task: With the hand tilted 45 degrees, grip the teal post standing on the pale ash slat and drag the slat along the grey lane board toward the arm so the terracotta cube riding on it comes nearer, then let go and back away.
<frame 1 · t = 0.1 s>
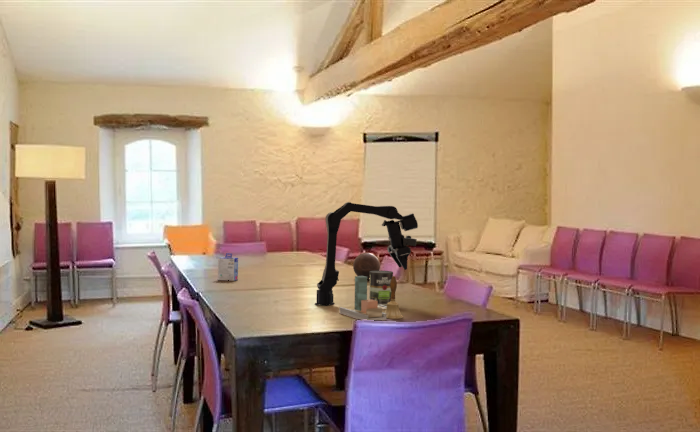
hand: (403, 268, 297), 15 cm above the table, tool pointing down, fingers open, 9 cm apart
lane board: (360, 316, 266), on the table
ink cartridge box: (228, 280, 368), on the table
cube: (369, 312, 260), point 2 cm above the table, touching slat
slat: (366, 296, 262), point 8 cm above the table, slide at 0.0 cm, touching cube
coffee can: (380, 304, 296), on the table
wooden handled brush: (392, 317, 265), on the table
broken slat: (376, 312, 273), resting on lane board
wooden sphere: (366, 279, 379), on the table
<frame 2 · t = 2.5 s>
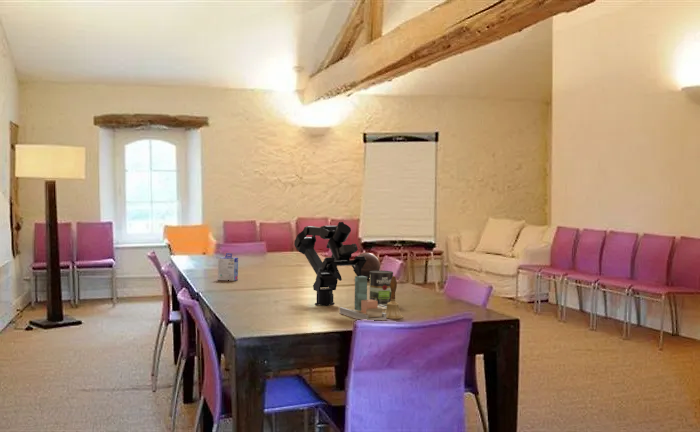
hand: (350, 279, 272), 13 cm above the table, tool tilted 45°, fingers open, 9 cm apart
nothing on the table moved.
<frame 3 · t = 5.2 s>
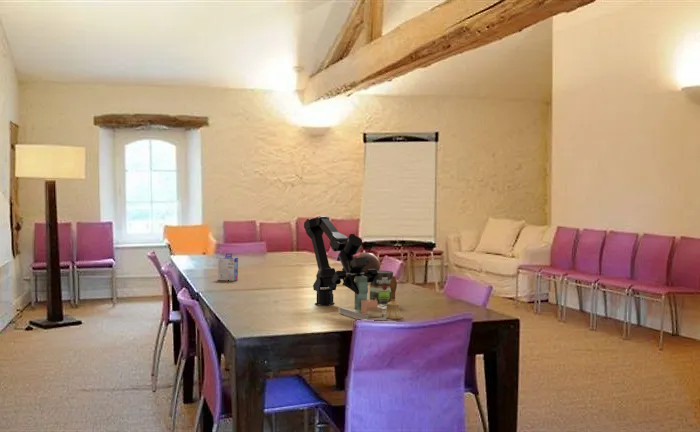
hand: (362, 293, 264), 9 cm above the table, tool tilted 45°, fingers closed on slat, 3 cm apart
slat: (366, 296, 262), point 8 cm above the table, slide at 0.0 cm, touching cube, gripper
everything else where it was.
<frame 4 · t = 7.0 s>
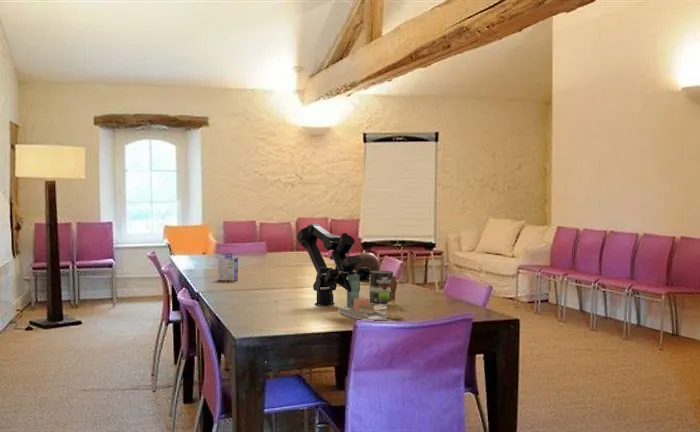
hand: (354, 291, 270), 9 cm above the table, tool tilted 45°, fingers closed on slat, 3 cm apart
cube: (361, 309, 265), point 2 cm above the table, touching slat
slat: (358, 294, 267), point 8 cm above the table, slide at 5.9 cm, touching cube, gripper
everything else where it was.
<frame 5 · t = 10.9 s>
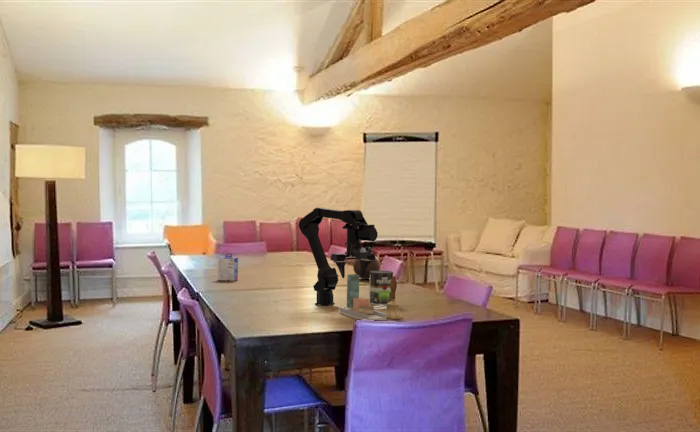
hand: (352, 277, 282), 13 cm above the table, tool pointing down, fingers open, 9 cm apart
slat: (358, 294, 267), point 8 cm above the table, slide at 6.1 cm, touching cube
everything else where it was.
at the end: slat slide at 6.1 cm; cube inside the target area (1.3 cm from its centre), point 2.5 cm above the table; cube tilted 0° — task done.
